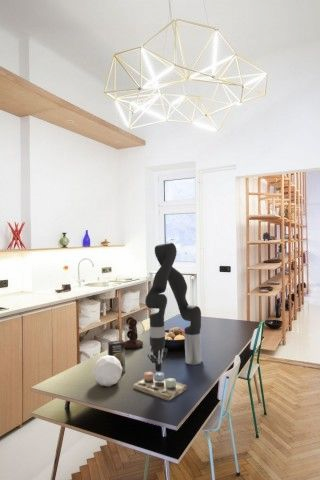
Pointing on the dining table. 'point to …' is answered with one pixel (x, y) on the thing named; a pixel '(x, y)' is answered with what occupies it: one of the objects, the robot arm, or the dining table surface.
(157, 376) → the three dot button
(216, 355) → the dining table surface
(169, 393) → the button board
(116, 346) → the coffee box
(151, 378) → the two dot button
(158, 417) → the dining table surface
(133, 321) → the dark brown tall piece
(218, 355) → the dining table surface
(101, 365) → the geometric shape
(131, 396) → the dining table surface
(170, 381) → the pale green button
